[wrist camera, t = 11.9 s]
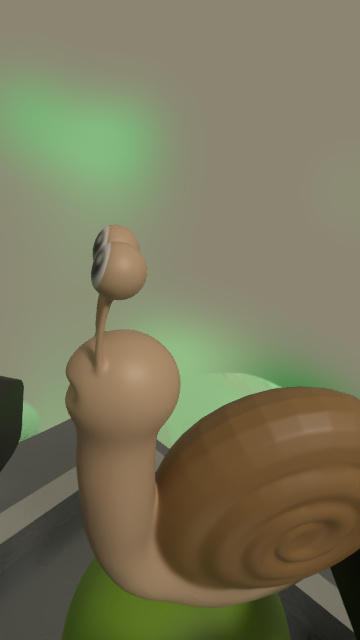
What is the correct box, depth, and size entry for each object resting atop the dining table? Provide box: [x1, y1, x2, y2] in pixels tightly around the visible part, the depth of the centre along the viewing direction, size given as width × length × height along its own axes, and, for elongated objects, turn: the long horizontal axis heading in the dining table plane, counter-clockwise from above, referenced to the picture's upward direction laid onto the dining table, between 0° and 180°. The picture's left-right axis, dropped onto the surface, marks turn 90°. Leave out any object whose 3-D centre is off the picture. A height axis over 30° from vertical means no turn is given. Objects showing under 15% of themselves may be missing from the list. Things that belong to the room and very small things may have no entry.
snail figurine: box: [61, 225, 360, 640], centre depth 7 cm, size 5×6×12 cm
